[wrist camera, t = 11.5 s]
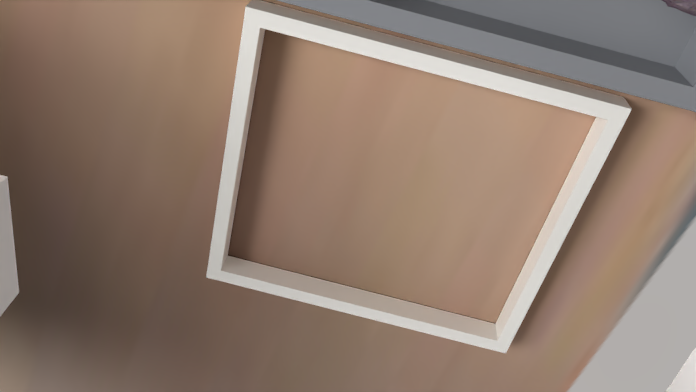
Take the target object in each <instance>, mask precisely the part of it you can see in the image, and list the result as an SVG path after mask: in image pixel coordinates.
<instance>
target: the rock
mask: <svg viewBox="0 0 696 392" xmlns="http://www.w3.org/2000/svg"><path fill="white" fill-rule="evenodd" d="M662 1H664V2H665V3H666V4H667V6H668V7H672V8H676V9H678V10H680V11H682V12H685V13H687V14H690V15H693V16H696V0H662Z"/></svg>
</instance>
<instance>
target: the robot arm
mask: <svg viewBox="0 0 696 392" xmlns="http://www.w3.org/2000/svg"><path fill="white" fill-rule="evenodd" d="M18 293H19V285H18V275H17V266H16V256H15V246H14V236H13V226H12V216H11V206H10V196H9V186H8V176H3V175H0V316H1V315H2V314H3V312H4V311H5V310H6V309H7V307H8V306H9V305H10V304H11V302H12V301H13V300H14V299H15V297H16V296H17V295H18ZM666 392H696V347H695V349H694V350H693V352H692V353H691V355H690V356H689V358H688V359H687V361H686V362H685V363H684V365H683V367H682V368H681V369H680V371H679V373H678V374H677V375H676V377H675V378H674V380H673V381H672V383H671V384H670V386H669V387H668V389H667V390H666Z"/></svg>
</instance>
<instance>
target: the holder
mask: <svg viewBox="0 0 696 392" xmlns="http://www.w3.org/2000/svg"><path fill="white" fill-rule="evenodd" d="M277 1H281V2H285V3H289V4H292V5H296V6H300V7H304V8H307V9H311V10H315V11H319V12H322V13H326V14H330V15H334V16H337V17H341V18H345V19H349V20H353V21H356V22H360V23H364V24H368V25H371V26H375V27H379V28H383V29H386V30H390V31H394V32H398V33H401V34H405V35H409V36H413V37H416V38H420V39H424V40H428V41H431V42H435V43H439V44H443V45H446V46H450V47H454V48H458V49H461V50H465V51H469V52H473V53H476V54H480V55H484V56H488V57H491V58H495V59H499V60H503V61H506V62H510V63H514V64H518V65H521V66H525V67H529V68H533V69H536V70H540V71H544V72H548V73H551V74H555V75H559V76H563V77H566V78H570V79H574V80H578V81H581V82H585V83H589V84H593V85H597V86H600V87H604V88H608V89H612V90H615V91H619V92H623V93H627V94H630V95H634V96H638V97H642V98H645V99H649V100H653V101H657V102H660V103H664V104H668V105H672V106H675V107H679V108H683V109H687V110H690V111H694V112H696V16H693V15H690V14H687V13H685V12H682V11H680V10H678V9H676V8H672V7H668V6H667V4H666V3H665V2H664V1H662V0H277Z"/></svg>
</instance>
